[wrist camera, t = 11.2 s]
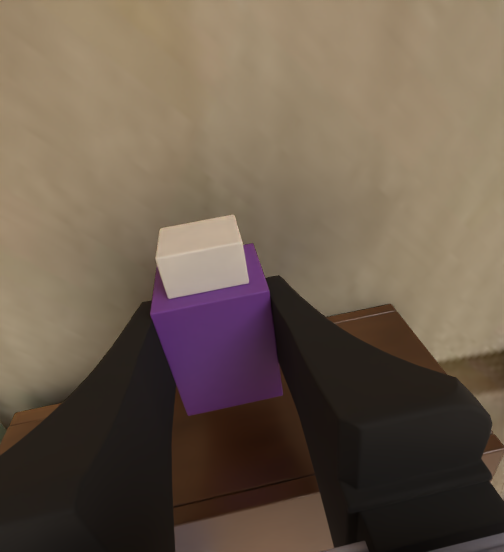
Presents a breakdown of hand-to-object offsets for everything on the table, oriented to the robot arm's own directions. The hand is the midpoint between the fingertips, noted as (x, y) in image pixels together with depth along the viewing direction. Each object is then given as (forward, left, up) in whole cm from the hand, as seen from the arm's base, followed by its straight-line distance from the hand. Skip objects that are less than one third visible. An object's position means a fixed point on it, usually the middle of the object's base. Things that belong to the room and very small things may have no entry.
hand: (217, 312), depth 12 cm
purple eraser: (0, 0, -1) cm, 1 cm away
